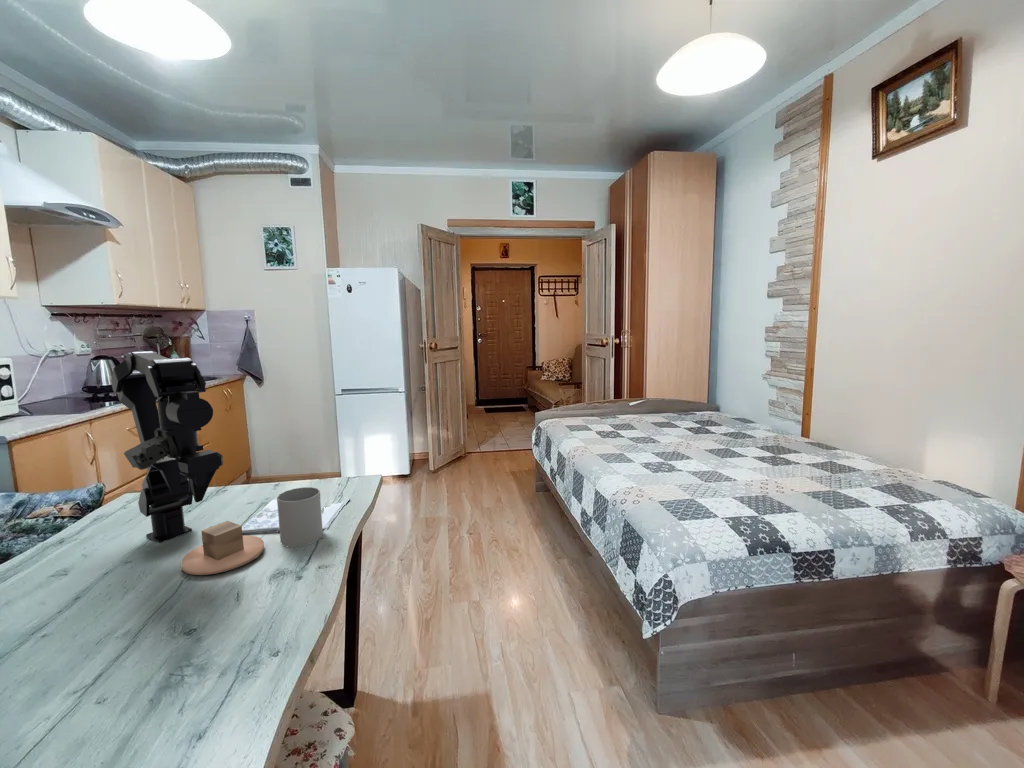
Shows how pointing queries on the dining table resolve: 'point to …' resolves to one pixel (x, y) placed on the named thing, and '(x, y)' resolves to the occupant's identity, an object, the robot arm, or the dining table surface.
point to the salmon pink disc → (206, 565)
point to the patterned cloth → (270, 520)
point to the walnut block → (222, 540)
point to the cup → (300, 516)
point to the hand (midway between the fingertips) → (186, 497)
